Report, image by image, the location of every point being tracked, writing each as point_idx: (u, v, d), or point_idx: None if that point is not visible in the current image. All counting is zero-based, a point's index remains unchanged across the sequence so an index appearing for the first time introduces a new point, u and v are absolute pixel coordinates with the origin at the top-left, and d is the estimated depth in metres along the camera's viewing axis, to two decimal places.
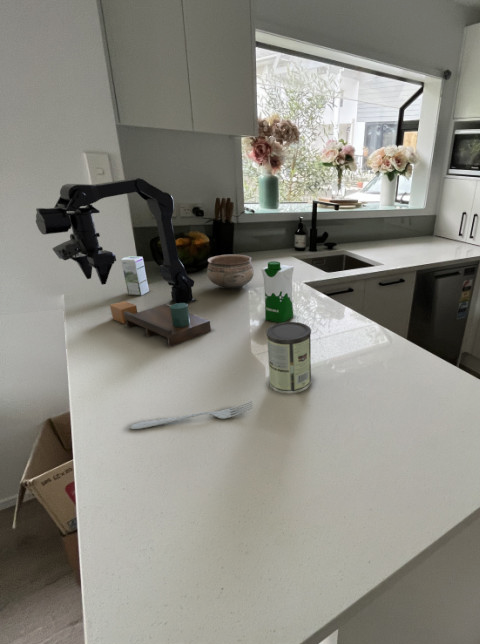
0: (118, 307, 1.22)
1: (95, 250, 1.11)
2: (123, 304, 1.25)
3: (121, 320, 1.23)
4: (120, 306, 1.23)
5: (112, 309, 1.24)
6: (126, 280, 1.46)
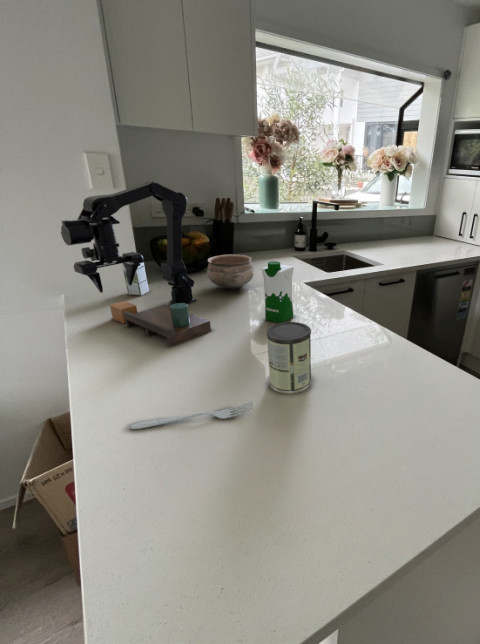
0: (118, 307, 1.22)
1: (101, 260, 1.15)
2: (123, 304, 1.25)
3: (121, 320, 1.23)
4: (120, 306, 1.23)
5: (112, 309, 1.24)
6: (126, 280, 1.46)
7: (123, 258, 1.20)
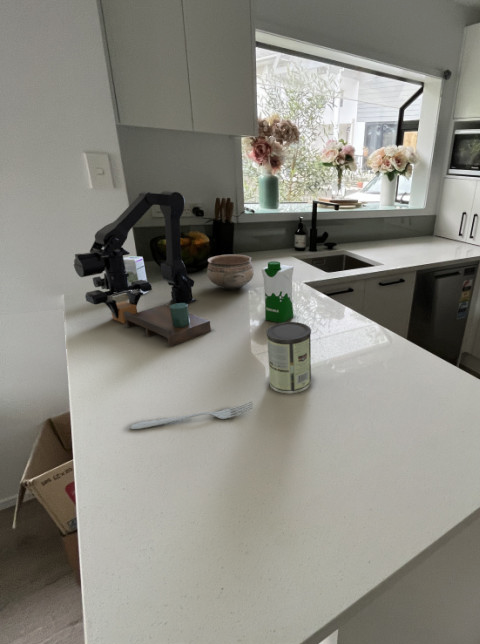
0: (118, 307, 1.22)
1: (111, 289, 1.19)
2: (123, 304, 1.25)
3: (121, 320, 1.23)
4: (120, 306, 1.23)
5: None
6: None
7: (132, 286, 1.25)
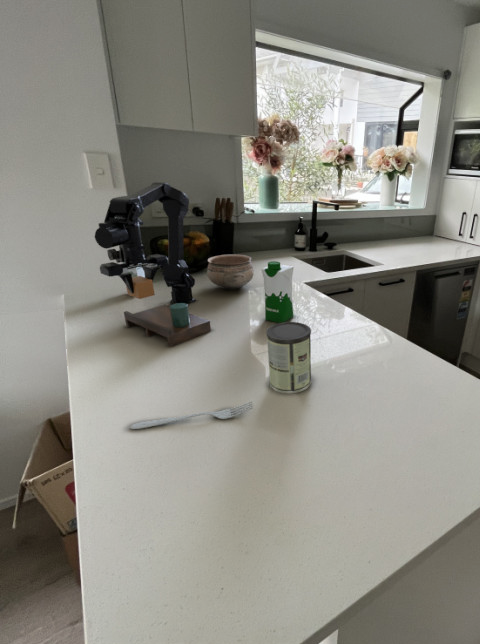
0: (133, 281, 1.16)
1: (126, 262, 1.13)
2: (138, 278, 1.19)
3: (136, 295, 1.16)
4: (136, 280, 1.17)
5: None
6: None
7: (148, 260, 1.19)
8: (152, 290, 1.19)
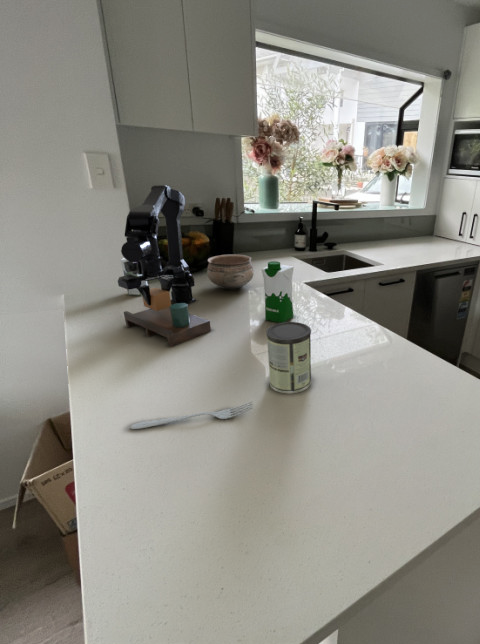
0: (151, 293, 1.16)
1: (144, 274, 1.13)
2: (155, 290, 1.18)
3: (154, 307, 1.16)
4: (153, 292, 1.17)
5: None
6: None
7: (165, 272, 1.18)
8: (169, 301, 1.18)
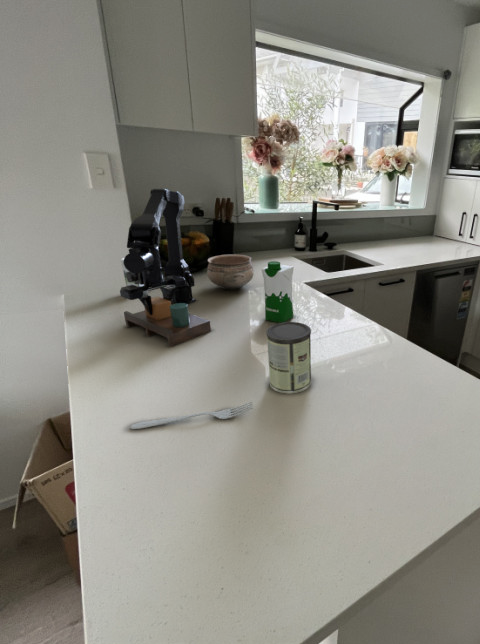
0: (152, 303, 1.17)
1: (146, 285, 1.14)
2: (157, 299, 1.20)
3: (155, 316, 1.17)
4: (155, 301, 1.18)
5: None
6: (126, 280, 1.46)
7: (166, 282, 1.20)
8: None
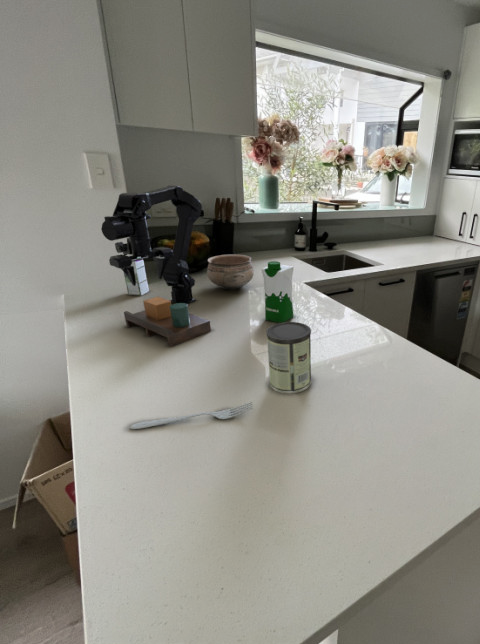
0: (152, 303, 1.17)
1: (134, 254, 1.19)
2: (157, 299, 1.20)
3: (155, 316, 1.17)
4: (155, 301, 1.18)
5: (146, 305, 1.18)
6: (126, 280, 1.46)
7: (154, 252, 1.25)
8: None
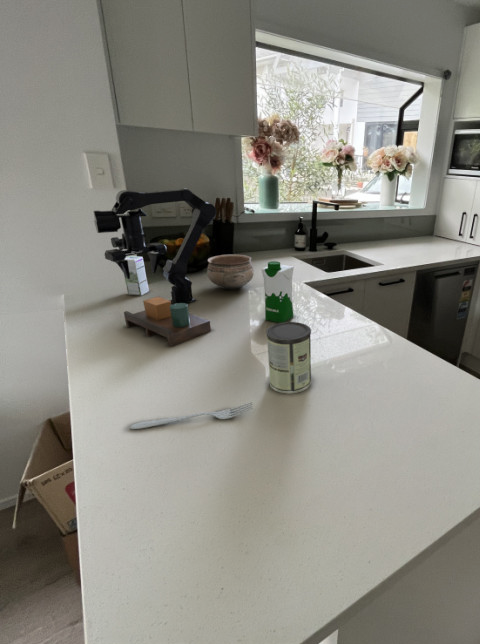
0: (152, 303, 1.17)
1: (129, 249, 1.25)
2: (157, 299, 1.20)
3: (155, 316, 1.17)
4: (155, 301, 1.18)
5: (146, 305, 1.18)
6: (126, 280, 1.46)
7: (148, 248, 1.30)
8: None
